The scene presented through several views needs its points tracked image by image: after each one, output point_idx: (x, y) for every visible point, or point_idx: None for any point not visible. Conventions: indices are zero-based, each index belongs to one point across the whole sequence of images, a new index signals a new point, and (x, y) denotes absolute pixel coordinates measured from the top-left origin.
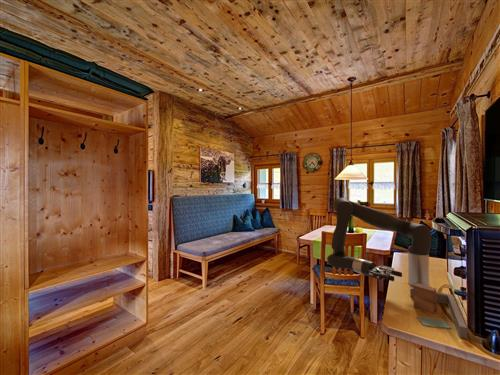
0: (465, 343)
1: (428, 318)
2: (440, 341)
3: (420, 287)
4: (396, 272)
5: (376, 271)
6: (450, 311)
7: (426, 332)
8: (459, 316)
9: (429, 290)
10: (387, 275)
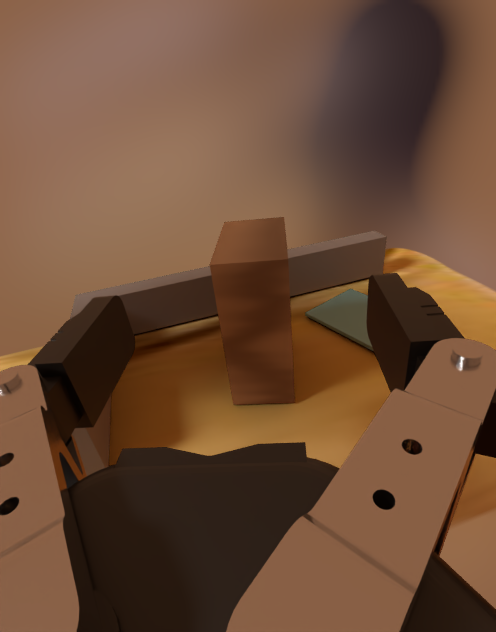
0: (399, 266)
1: (356, 332)
2: (477, 287)
3: (284, 241)
4: (93, 344)
5: (492, 612)
6: (193, 319)
7: (478, 315)
8: (307, 248)
9: (284, 224)
10: (424, 322)
